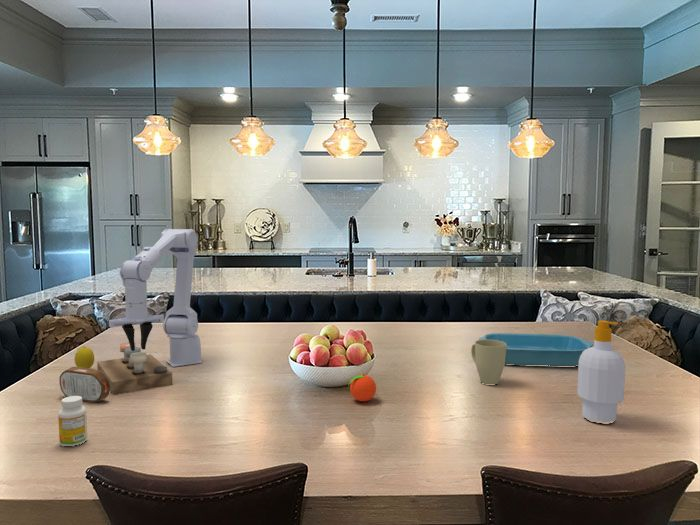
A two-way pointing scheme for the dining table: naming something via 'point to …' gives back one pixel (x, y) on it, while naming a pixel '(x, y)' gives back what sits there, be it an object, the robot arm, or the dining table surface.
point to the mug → (489, 359)
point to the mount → (135, 375)
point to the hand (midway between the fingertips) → (138, 349)
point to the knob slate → (129, 351)
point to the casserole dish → (541, 348)
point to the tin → (85, 384)
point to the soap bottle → (601, 377)
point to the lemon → (84, 357)
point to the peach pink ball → (122, 349)
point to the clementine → (362, 388)
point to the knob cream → (138, 361)
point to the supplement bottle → (72, 422)
